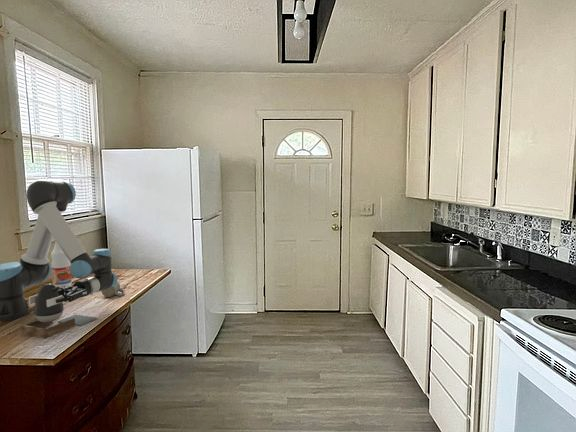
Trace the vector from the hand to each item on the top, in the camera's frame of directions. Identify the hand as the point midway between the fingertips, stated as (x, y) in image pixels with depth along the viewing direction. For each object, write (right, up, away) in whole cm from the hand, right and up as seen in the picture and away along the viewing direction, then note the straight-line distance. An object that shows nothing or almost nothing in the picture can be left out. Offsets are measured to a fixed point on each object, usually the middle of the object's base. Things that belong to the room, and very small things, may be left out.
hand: (38, 302), depth 148 cm
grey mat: (+7, -12, +16) cm, 21 cm away
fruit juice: (-32, -7, +69) cm, 77 cm away
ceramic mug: (+5, -9, +53) cm, 54 cm away
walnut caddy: (+1, -13, +5) cm, 14 cm away
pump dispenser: (+1, -9, +5) cm, 10 cm away
